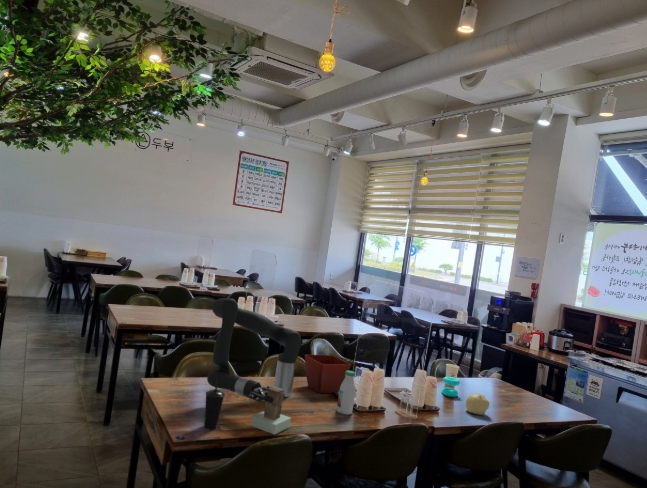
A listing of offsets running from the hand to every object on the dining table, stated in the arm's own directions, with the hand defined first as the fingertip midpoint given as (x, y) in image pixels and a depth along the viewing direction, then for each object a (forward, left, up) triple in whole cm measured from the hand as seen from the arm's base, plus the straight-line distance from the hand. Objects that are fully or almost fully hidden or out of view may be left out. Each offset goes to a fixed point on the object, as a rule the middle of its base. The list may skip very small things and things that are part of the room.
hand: (278, 398), depth 214 cm
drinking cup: (+20, -18, -13) cm, 30 cm away
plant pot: (-67, -12, -13) cm, 69 cm away
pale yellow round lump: (-107, +63, -13) cm, 125 cm away
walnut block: (0, -2, -8) cm, 9 cm away
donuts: (-129, +43, -13) cm, 137 cm away
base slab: (0, -2, -12) cm, 13 cm away
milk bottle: (-44, +12, -13) cm, 47 cm away
